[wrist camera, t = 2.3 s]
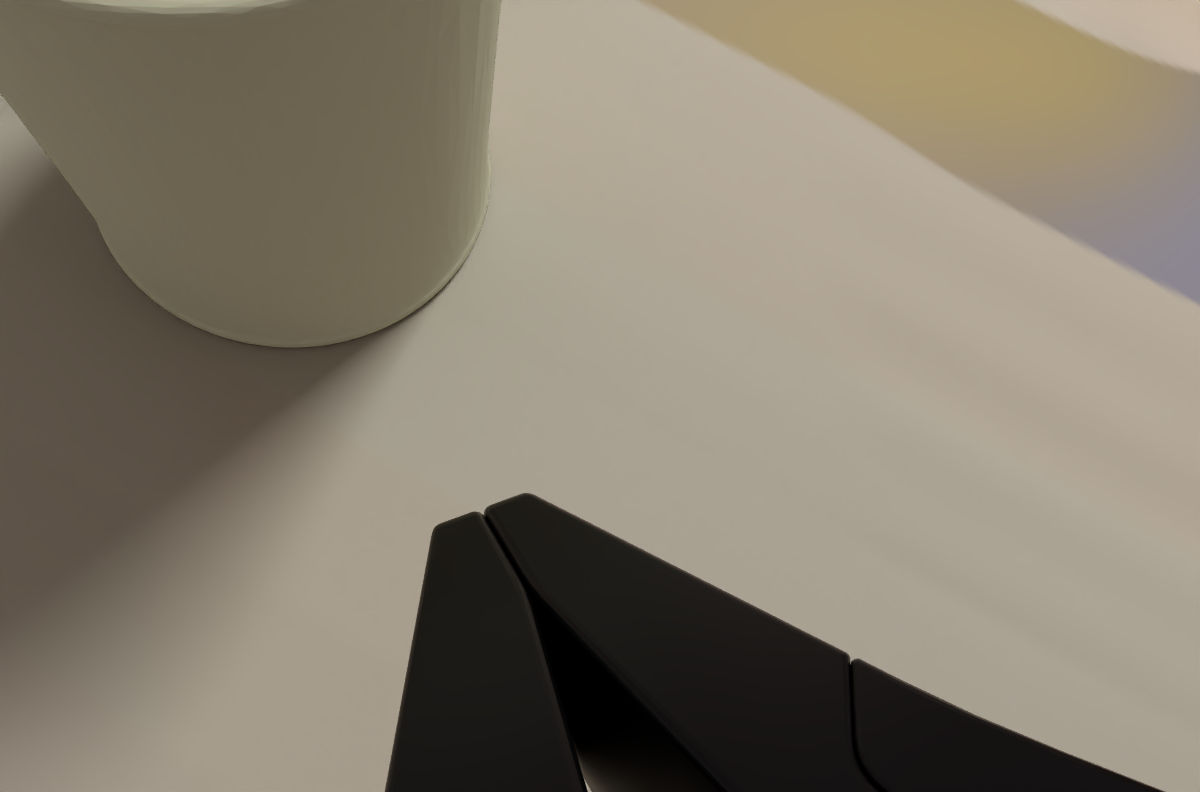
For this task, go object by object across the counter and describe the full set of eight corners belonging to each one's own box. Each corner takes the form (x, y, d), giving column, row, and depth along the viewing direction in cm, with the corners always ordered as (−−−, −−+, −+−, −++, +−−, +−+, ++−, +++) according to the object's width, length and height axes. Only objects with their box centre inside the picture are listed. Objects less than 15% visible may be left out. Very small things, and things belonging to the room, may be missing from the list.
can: (0, 202, 21) (-500, -335, 10) (261, -57, 24) (108, -699, 13) (340, 426, 21) (230, 144, 10) (560, 139, 24) (673, -335, 13)
